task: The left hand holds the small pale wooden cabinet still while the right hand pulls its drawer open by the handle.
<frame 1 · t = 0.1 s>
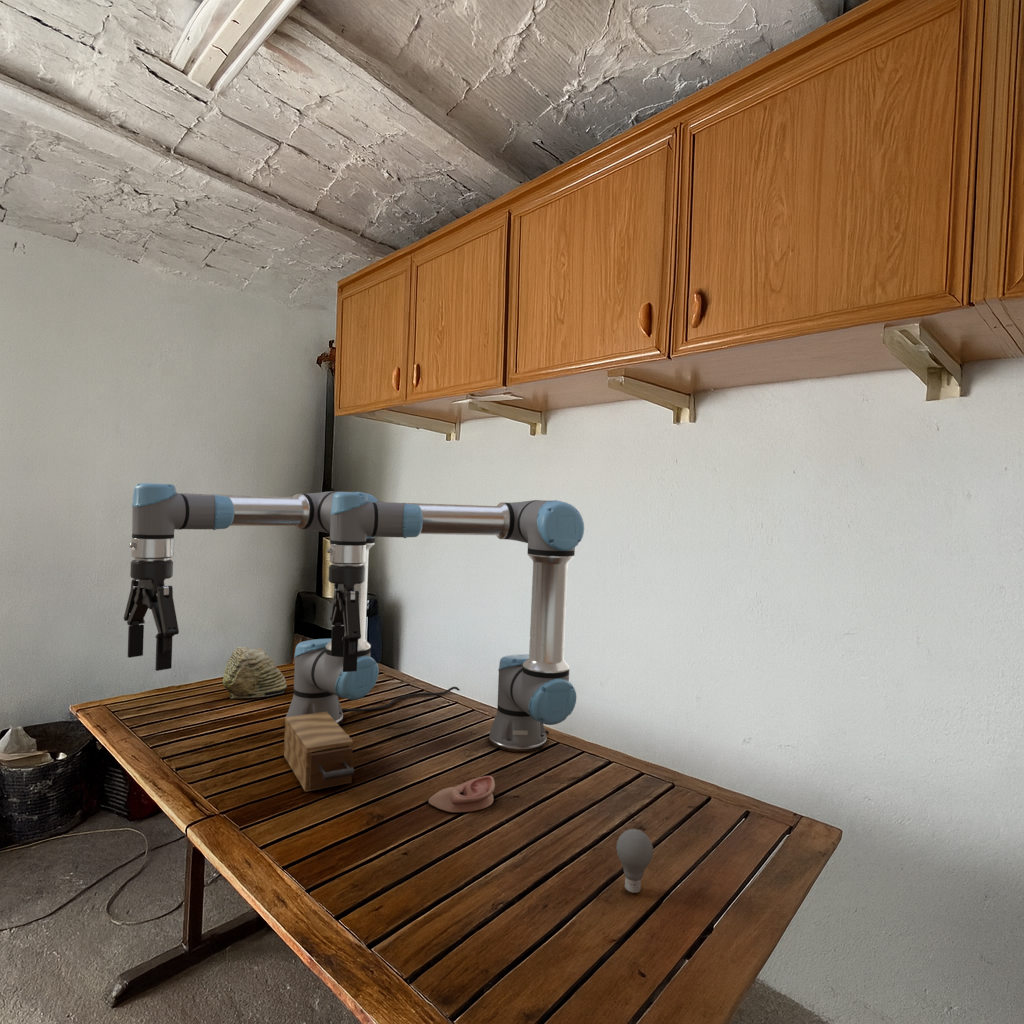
left hand: (148, 662, 129), 28 cm above the table, tool pointing down, fingers open, 13 cm apart
right hand: (343, 663, 136), 28 cm above the table, tool pointing down, fingers open, 13 cm apart
anatomical model: (461, 801, 135), on the table
fossil: (254, 694, 198), on the table
light bulb: (632, 891, 106), on the table
cabinet: (316, 768, 147), on the table
drawer: (322, 756, 143), point 5 cm above the table, slide at 0.5 cm
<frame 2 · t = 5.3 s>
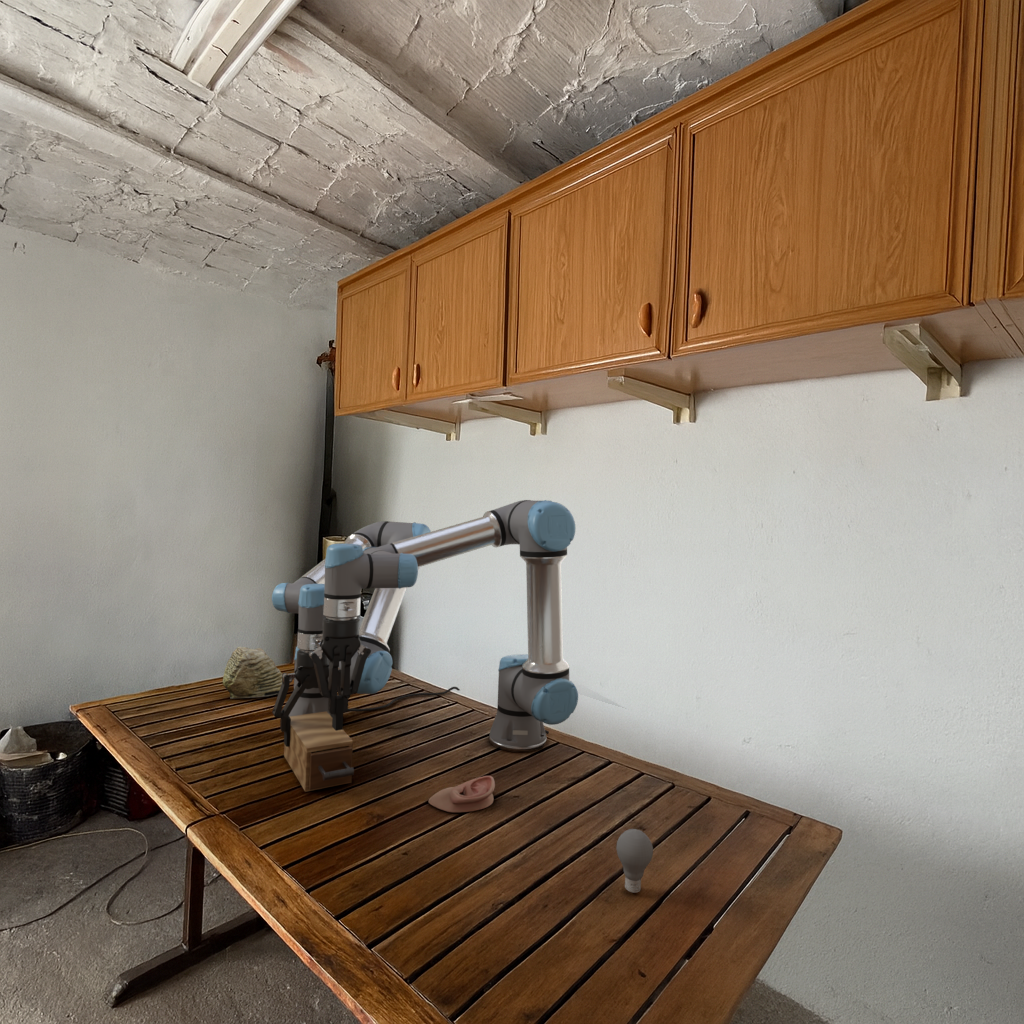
left hand: (310, 740, 152), 4 cm above the table, tool pointing down, fingers closed on cabinet, 10 cm apart
right hand: (337, 727, 134), 15 cm above the table, tool pointing down, fingers closed
cabinet: (316, 768, 147), on the table, touching left hand
everything else where it was.
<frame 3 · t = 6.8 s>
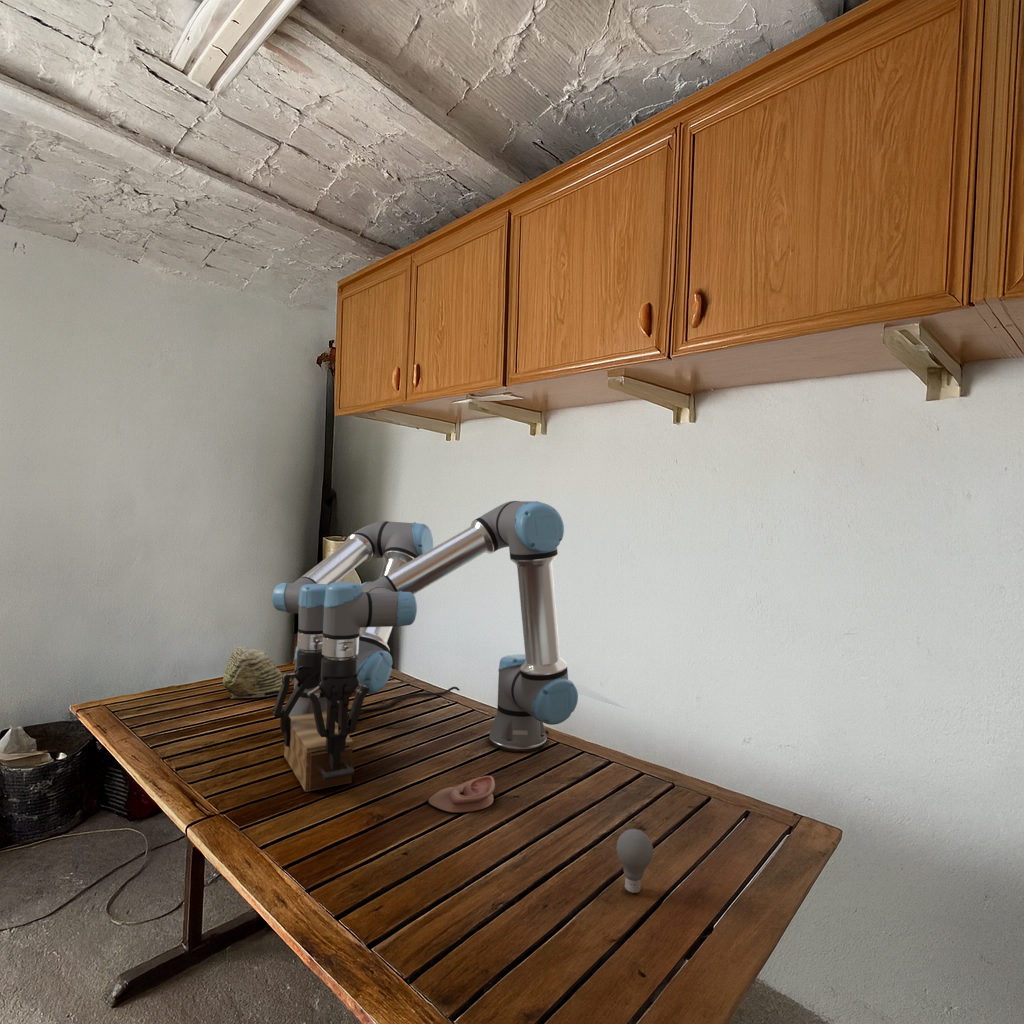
left hand: (310, 740, 152), 4 cm above the table, tool pointing down, fingers closed on cabinet, 10 cm apart
right hand: (334, 766, 134), 6 cm above the table, tool pointing down, fingers closed
cabinet: (316, 768, 147), on the table, touching left hand
drawer: (322, 756, 143), point 5 cm above the table, slide at 0.5 cm, touching right hand
everything else where it was.
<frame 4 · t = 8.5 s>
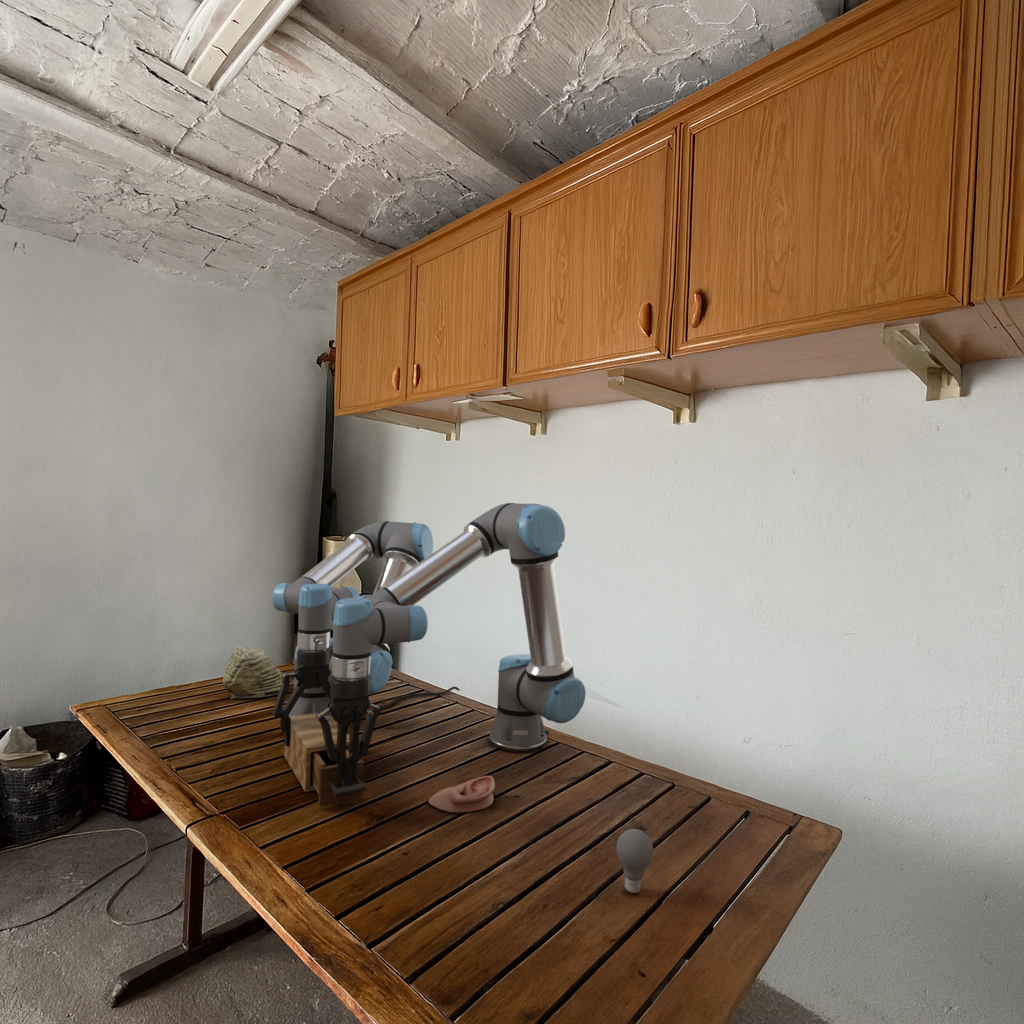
left hand: (310, 740, 152), 4 cm above the table, tool pointing down, fingers closed on cabinet, 10 cm apart
right hand: (345, 792, 128), 4 cm above the table, tool pointing down, fingers closed
cabinet: (316, 768, 147), on the table, touching left hand
drawer: (332, 770, 136), point 5 cm above the table, slide at 8.2 cm, touching right hand
everything else where it was.
when the left hand's fingers open (4 cm above the table, at t = 10.0 s): cabinet stays where it is, on the table.
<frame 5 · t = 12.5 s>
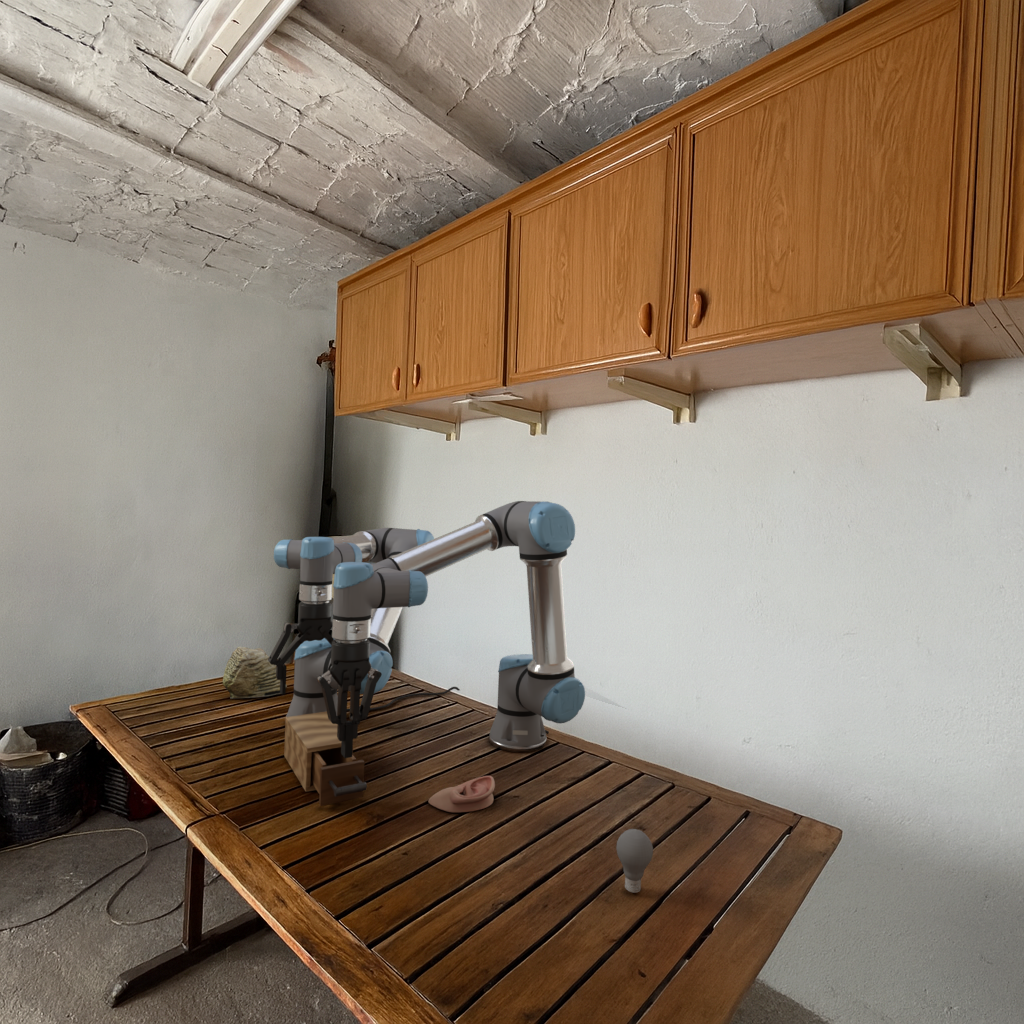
left hand: (312, 689, 152), 17 cm above the table, tool pointing down, fingers open, 13 cm apart
right hand: (346, 755, 128), 11 cm above the table, tool pointing down, fingers closed
cabinet: (316, 768, 147), on the table
drawer: (333, 770, 136), point 5 cm above the table, slide at 8.3 cm
everything else where it was.
at the end: drawer slide at 8.3 cm; cabinet tilted 0°; cabinet never tilted more than 1° during the clip; cabinet moved 0.1 cm from its start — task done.
